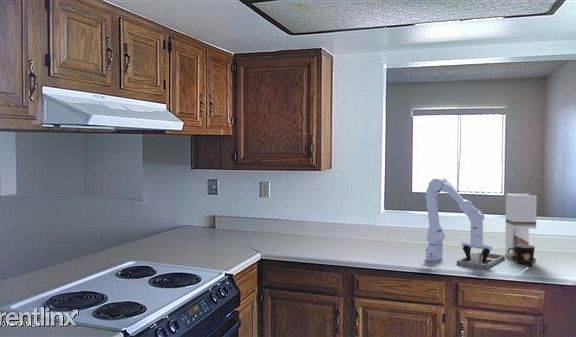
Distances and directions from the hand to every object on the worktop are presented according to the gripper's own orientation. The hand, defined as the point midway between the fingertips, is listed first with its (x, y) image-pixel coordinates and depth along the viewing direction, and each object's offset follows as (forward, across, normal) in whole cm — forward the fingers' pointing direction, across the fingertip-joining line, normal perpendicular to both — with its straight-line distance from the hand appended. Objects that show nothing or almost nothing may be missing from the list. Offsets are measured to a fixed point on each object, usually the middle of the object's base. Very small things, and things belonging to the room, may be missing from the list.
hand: (476, 262), depth 219 cm
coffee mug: (+2, -16, -18) cm, 24 cm away
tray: (+2, 0, -7) cm, 7 cm away
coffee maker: (+2, -12, -30) cm, 32 cm away
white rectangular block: (+1, 0, 0) cm, 1 cm away
